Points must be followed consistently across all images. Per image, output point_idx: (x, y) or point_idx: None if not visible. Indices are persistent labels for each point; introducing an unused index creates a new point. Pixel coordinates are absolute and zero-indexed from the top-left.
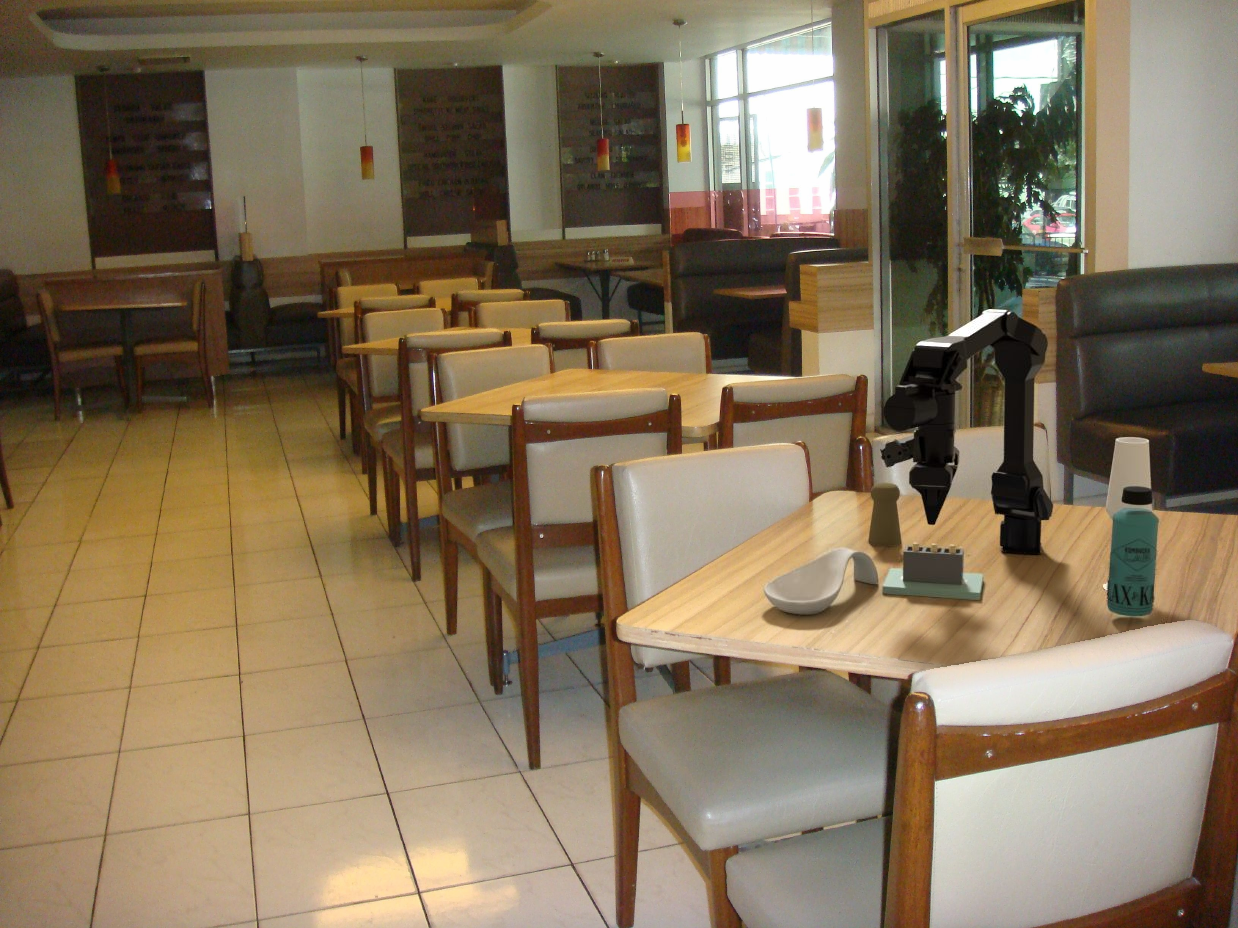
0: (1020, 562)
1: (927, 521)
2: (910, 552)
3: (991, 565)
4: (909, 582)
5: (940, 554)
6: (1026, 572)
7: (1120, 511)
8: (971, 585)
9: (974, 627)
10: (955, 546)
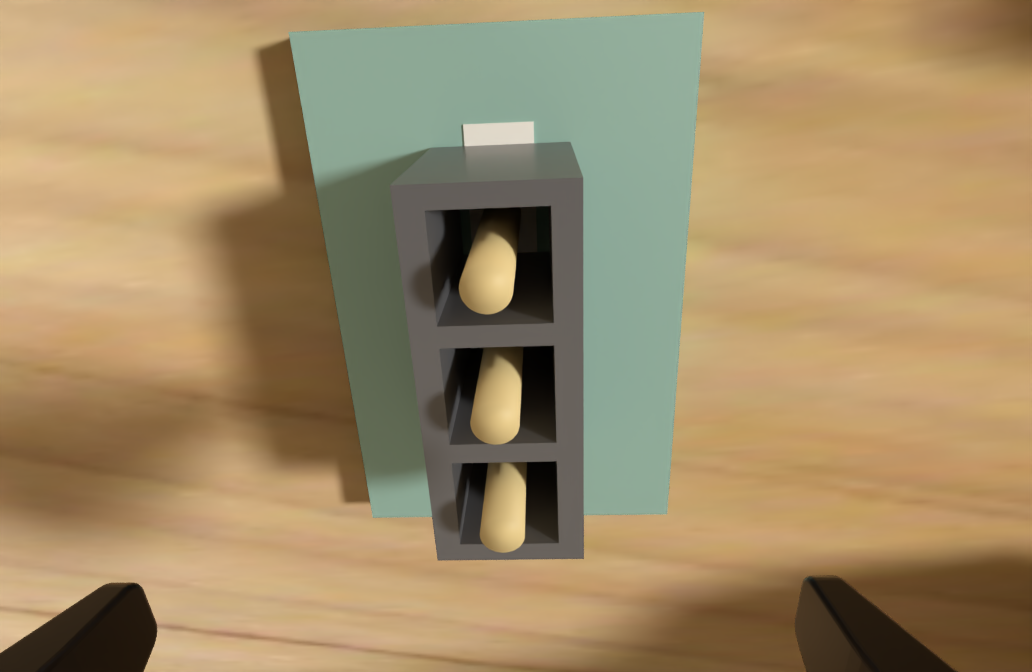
0: (968, 602)
1: (73, 607)
2: (400, 242)
3: (920, 506)
4: None
5: (423, 442)
6: None
7: None
8: None
9: (43, 498)
10: (494, 547)
